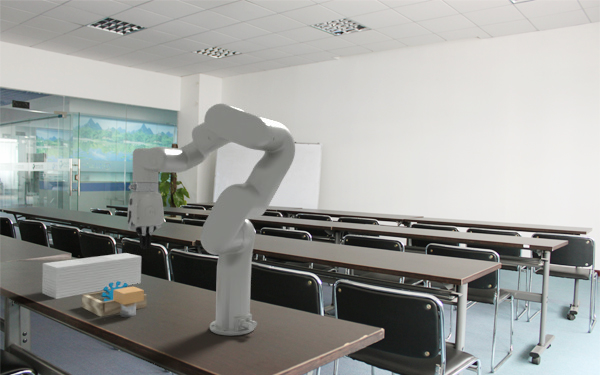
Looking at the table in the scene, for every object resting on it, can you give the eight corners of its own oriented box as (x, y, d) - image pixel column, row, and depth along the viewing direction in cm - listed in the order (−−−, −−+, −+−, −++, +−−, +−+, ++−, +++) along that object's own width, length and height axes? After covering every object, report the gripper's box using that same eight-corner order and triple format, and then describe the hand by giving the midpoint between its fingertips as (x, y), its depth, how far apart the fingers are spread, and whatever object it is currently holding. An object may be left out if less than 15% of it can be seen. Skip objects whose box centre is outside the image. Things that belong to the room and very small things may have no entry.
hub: (143, 300, 137) (143, 290, 137) (123, 304, 132) (123, 293, 132) (133, 296, 141) (133, 286, 141) (113, 300, 136) (113, 289, 136)
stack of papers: (125, 279, 184) (126, 252, 183) (140, 283, 177) (141, 256, 177) (42, 293, 158) (42, 263, 158) (56, 299, 152) (56, 267, 152)
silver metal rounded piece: (138, 315, 137) (139, 294, 137) (124, 318, 134) (125, 296, 133) (131, 311, 140) (131, 291, 140) (117, 314, 136) (118, 293, 136)
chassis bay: (146, 307, 145) (146, 294, 145) (100, 316, 134) (100, 303, 134) (126, 298, 154) (126, 287, 154) (81, 307, 143) (81, 294, 143)
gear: (102, 307, 138) (102, 279, 145) (98, 316, 142) (98, 289, 148) (139, 307, 144) (138, 280, 151) (134, 317, 148) (133, 290, 154)
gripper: (129, 189, 130) (128, 252, 131) (173, 188, 142) (173, 246, 142) (116, 188, 135) (115, 249, 135) (160, 188, 147) (159, 244, 147)
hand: (145, 248), depth 139 cm, fingers closed
